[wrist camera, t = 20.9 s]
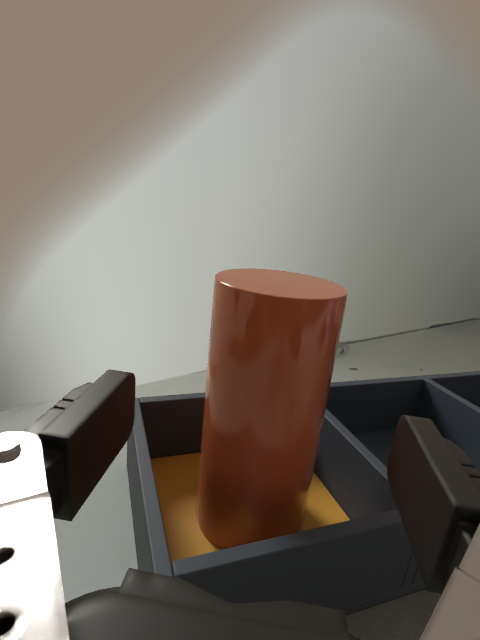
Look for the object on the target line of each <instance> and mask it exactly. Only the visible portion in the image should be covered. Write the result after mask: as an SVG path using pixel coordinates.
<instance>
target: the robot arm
mask: <svg viewBox="0 0 480 640" xmlns="http://www.w3.org/2000/svg"><path fill="white" fill-rule="evenodd" d="M134 419H135V376H134V374H133V373H129V372H122V371H116V370H108V371H106V372H105V373H104V374H103V375H102V376H101V377H100V378H99V379H98V380H96V381H95V382H94V383H86V384H84V385H82V386H80V387H77V388H75V389H73V390H72V391H71V392H69V393H68V394H67V395H66V396H65V397H63V399H62V400H60V401H59V402H58V403H56V404H55V405H54V407H53V408H50V409H49V410H48V411H47V412H46V413H45V414H43V415H42V416H41V417H40V418H39V419H37V420H36V421H35V422H34V423H33V424H32V425H30V426H29V427H28V428H27V429H26V430H24V431H12V432H6V433H1V434H0V640H360V639H358V638H356V637H354V636H352V635H350V634H348V629H347V621H346V614H345V611H342V610H337V609H332V608H327V607H322V606H317V605H312V604H307V603H302V602H297V601H292V600H284V601H268V602H253V603H230V602H228V601H225V600H223V599H221V598H219V597H217V596H215V595H213V594H211V593H209V592H207V591H205V590H203V589H201V588H199V587H197V586H195V585H193V584H191V583H189V582H187V581H185V580H183V579H181V578H177V577H172V576H167V575H162V574H157V573H152V572H147V571H142V570H137V569H132V568H129V569H128V571H127V573H126V576H125V578H124V580H123V582H122V585H121V587H113V588H107V589H102V590H98V591H95V592H91V593H88V594H85V595H83V596H80V597H78V598H75V599H73V600H71V601H69V602H67V603H65V602H64V594H63V587H62V580H61V573H60V565H59V558H58V551H57V543H56V536H55V529H54V521H53V518H56V519H62V520H67V521H72V519H73V518H74V517H75V515H76V514H77V512H78V511H79V509H80V508H81V506H82V505H83V504H84V502H85V501H86V499H87V498H88V496H89V495H90V493H91V492H92V491H93V489H94V488H95V486H96V485H97V483H98V482H99V480H100V479H101V478H102V476H103V475H104V473H105V472H106V470H107V469H108V467H109V466H110V465H111V463H112V462H113V460H114V459H115V457H116V456H117V455H118V453H119V452H120V450H121V449H122V447H123V446H124V444H125V443H126V442H127V440H128V439H129V437H130V435H131V432H132V429H133V425H134ZM387 477H388V482H389V486H390V488H391V491H392V494H393V497H394V500H395V502H396V505H397V508H398V511H399V514H400V516H401V519H402V522H403V525H404V528H405V530H406V533H407V536H408V539H409V542H410V544H411V547H412V550H413V553H414V556H415V558H416V561H417V564H418V567H419V570H420V572H421V575H422V578H423V581H424V584H425V586H426V589H427V591H430V592H436V593H441V594H442V595H441V597H440V599H439V601H438V603H437V605H436V607H435V609H434V611H433V613H432V615H431V617H430V619H429V621H428V623H427V625H426V627H425V629H424V631H423V633H422V635H421V637H420V639H419V640H480V472H479V471H478V469H477V468H475V465H474V464H473V462H472V461H471V459H470V458H469V457H468V455H467V454H466V452H465V451H463V450H462V449H461V448H460V447H458V446H457V445H456V444H455V443H453V442H452V441H451V440H450V439H444V438H443V436H442V435H441V433H440V432H439V430H438V429H437V427H436V426H435V424H434V423H433V421H432V420H431V419H427V418H421V417H414V416H407V415H402V416H401V417H400V418H399V421H398V424H397V428H396V432H395V436H394V439H393V443H392V447H391V451H390V455H389V459H388V464H387Z"/></svg>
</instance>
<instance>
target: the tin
mask: <svg viewBox="0 0 480 640" xmlns="http://www.w3.org/2000/svg"><path fill="white" fill-rule="evenodd" d="M347 296H348V292H347V290H346V289H345V288H344V287H342V286H341V285H338V284H336V283H334V282H331V281H328V280H324V279H321V278H318V277H313V276H309V275H304V274H299V273H293V272H286V271H278V270H266V269H232V270H225V271H221V272H219V273H217V274H216V276H215V283H214V296H213V308H212V319H211V331H210V343H209V355H208V367H207V378H206V390H205V402H204V414H203V426H202V438H201V449H200V461H199V473H198V485H197V497H196V518H197V522H198V524H199V527H200V529H201V530H202V532H203V533H204V535H205V536H206V537H207V538H208V539H209V540H210V541H211V542H212V543H213V544H214V545H215V546H217V547H218V548H220V549H221V550H223V549H227V548H232V547H236V546H240V545H245V544H249V543H253V542H258V541H262V540H266V539H271V538H275V537H279V536H284V535H288V534H292V533H297V532H301V531H302V528H303V524H304V518H305V513H306V508H307V503H308V498H309V492H310V487H311V482H312V477H313V472H314V467H315V461H316V456H317V451H318V446H319V441H320V435H321V430H322V425H323V420H324V415H325V410H326V404H327V399H328V394H329V389H330V384H331V379H332V373H333V368H334V363H335V358H336V353H337V347H338V342H339V337H340V332H341V327H342V322H343V316H344V311H345V306H346V301H347Z"/></svg>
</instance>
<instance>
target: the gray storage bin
mask: <svg viewBox="0 0 480 640" xmlns="http://www.w3.org/2000/svg"><path fill="white" fill-rule="evenodd" d="M204 402H205V393H193V394H180V395H167V396H154V397H142V398H135V419H134V425H133V429H132V432H131V435H130V437H129V439H128V440H127V470H128V479H129V488H130V497H131V507H132V516H133V525H134V534H135V544H136V553H137V562H138V570H142V571H147V572H152V573H157V574H162V575H167V576H172V577H177V578H181V579H183V580H185V581H187V582H189V583H191V584H193V585H195V586H197V587H199V588H201V589H203V590H205V591H207V592H209V593H211V594H213V595H215V596H217V597H219V598H221V599H223V600H225V601H228V602H230V603H253V602H268V601H284V600H292V601H297V602H302V603H307V604H312V605H317V606H322V607H327V608H332V609H337V610H342V611H345V614H346V615H347V614H350V613H353V612H356V611H359V610H362V609H365V608H368V607H371V606H374V605H377V604H380V603H383V602H386V601H389V600H392V599H395V598H398V597H401V596H404V595H407V594H410V593H413V592H416V591H419V590H422V589H425V588H426V586H425V584H424V581H423V578H422V575H421V572H420V570H419V567H418V564H417V561H416V558H415V556H414V553H413V550H412V547H411V544H410V542H409V539H408V536H407V533H406V530H405V528H404V525H403V522H402V519H401V516H400V514H399V511H398V508H397V505H396V502H395V500H394V497H393V494H392V491H391V488H390V486H389V482H388V477H387V464H388V459H389V455H390V451H391V447H392V443H393V439H394V436H395V432H396V428H397V424H398V421H399V418H400V417H401V416H402V415H407V416H414V417H421V418H427V419H431V420H432V421H433V423H434V424H435V426H436V427H437V429H438V430H439V432H440V433H441V435H442V436H443V438H444V439H450V440H451V441H452V442H453V443H455V444H456V445H457V446H458V447H460V448H461V449H462V450H463V451H465V452H466V454H467V455H468V457H469V458H470V459H471V461H472V462H473V464H474V465H475V468H477V469H478V471H479V472H480V371H476V372H463V373H450V374H438V375H425V376H411V377H398V378H385V379H373V380H360V381H347V382H334V383H331V384H330V389H329V394H328V399H327V404H326V410H325V415H324V420H323V425H322V430H321V435H320V441H319V446H318V451H317V456H316V461H315V467H314V472H313V477H312V482H311V487H310V492H309V498H308V503H307V508H306V513H305V518H304V524H303V528H302V531H301V532H297V533H292V534H288V535H284V536H279V537H275V538H271V539H266V540H262V541H258V542H253V543H249V544H245V545H240V546H236V547H232V548H227V549H223V550H221V549H220V548H218V547H217V546H215V545H214V544H213V543H212V542H211V541H210V540H209V539H208V538H207V537H206V536H205V535H204V533H203V532H202V530H201V529H200V527H199V524H198V522H197V518H196V497H197V485H198V473H199V461H200V449H201V438H202V426H203V414H204Z"/></svg>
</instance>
